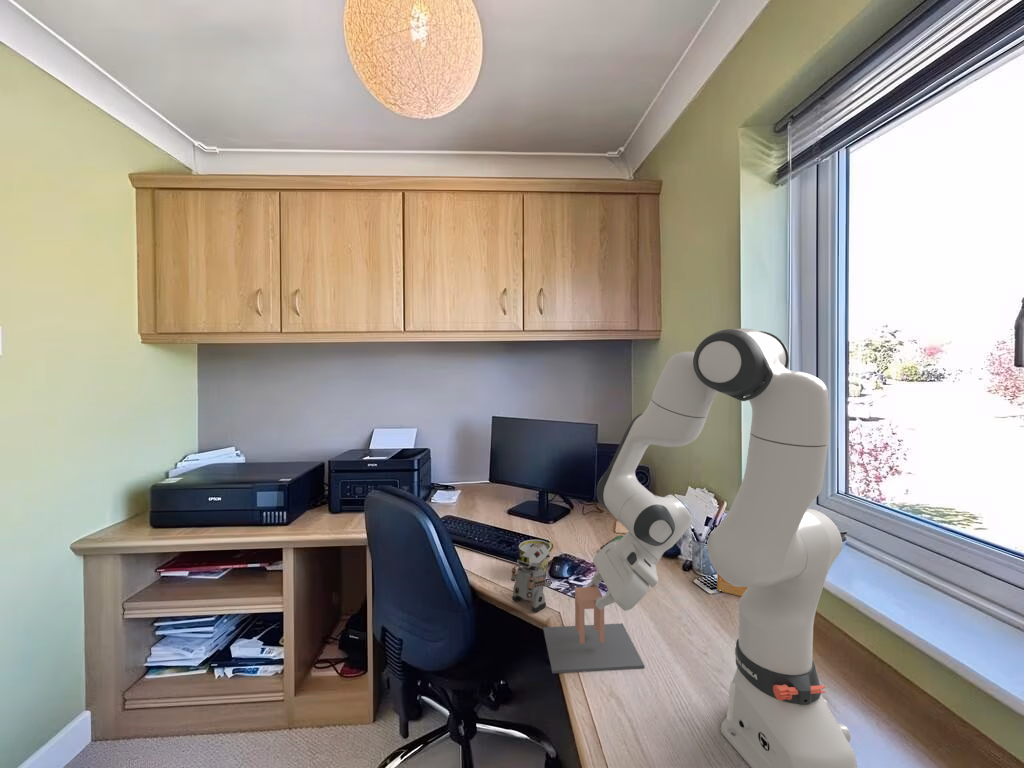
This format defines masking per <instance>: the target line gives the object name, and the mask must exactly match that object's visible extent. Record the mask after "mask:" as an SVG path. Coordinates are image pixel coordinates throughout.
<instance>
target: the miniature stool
mask: <svg viewBox="0 0 1024 768" xmlns="http://www.w3.org/2000/svg"><path fill="white" fill-rule="evenodd" d="M603 596H604V595H603V594H602V592H601V590H600V588H599V586H598V587H587V586H582V587H580V586H579V587H577V586H576V587H574V607H575V608H574V619H575V620H574V621H575V622H574V623H575V624H574V626H575V629H576V631H579V641H580V644H585V625H586V624H585V623H586V622H585V620H586V618H585V610H589V609H590V610H593V625H594V629H595V630H599V641H600V643H604V624H605V607H604V608H603V609H602V610H599V609H598V608H597V607H596V605H595V603H594V601H595V600H596V599H597V598H598V597H600V598H601V597H603Z"/></svg>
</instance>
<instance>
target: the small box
mask: <svg viewBox="0 0 1024 768" xmlns="http://www.w3.org/2000/svg"><path fill="white" fill-rule="evenodd" d="M716 573H717V572H716ZM716 582H717V584H716V586H717V590H721V591H722V592H721V593H725V594H730V595H735V596H739V597H742V595H743V593H744V592H745V591H746V589H747V588H748V587H738V586H734V585H732V584H730V583H728V582H727V581H725V580H724V579H723V578H722V577H721V576H720V575H719V574H718V573H717V581H716ZM717 590H716V591H717Z"/></svg>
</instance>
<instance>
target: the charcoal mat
mask: <svg viewBox="0 0 1024 768" xmlns="http://www.w3.org/2000/svg"><path fill="white" fill-rule="evenodd" d="M542 628H543V635H544V639H545V644H546V649H547V655H548V659H549V663H550V668H551V673H552V674H565V673H566V674H567V673H581V672H583V671H585V672H600V671H616V670H617V671H618V670H635V669H645V664H644V662H643V660H642V658H641V656H640V654H639V652H638V650H637V649H636V647H635V645H634V642H633V641H632V639H631V637H630V634H629V633H628V631H627V629H626V627H625V626H624V624H623V623H607V624H606V623H604V643H600V641H599V630H595V629H594V624H589V625H587V624H585V644H580V641H579V631H576V629H575V625H569V626H568V625H567V626H547V627H546V626H545V627H542Z"/></svg>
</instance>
